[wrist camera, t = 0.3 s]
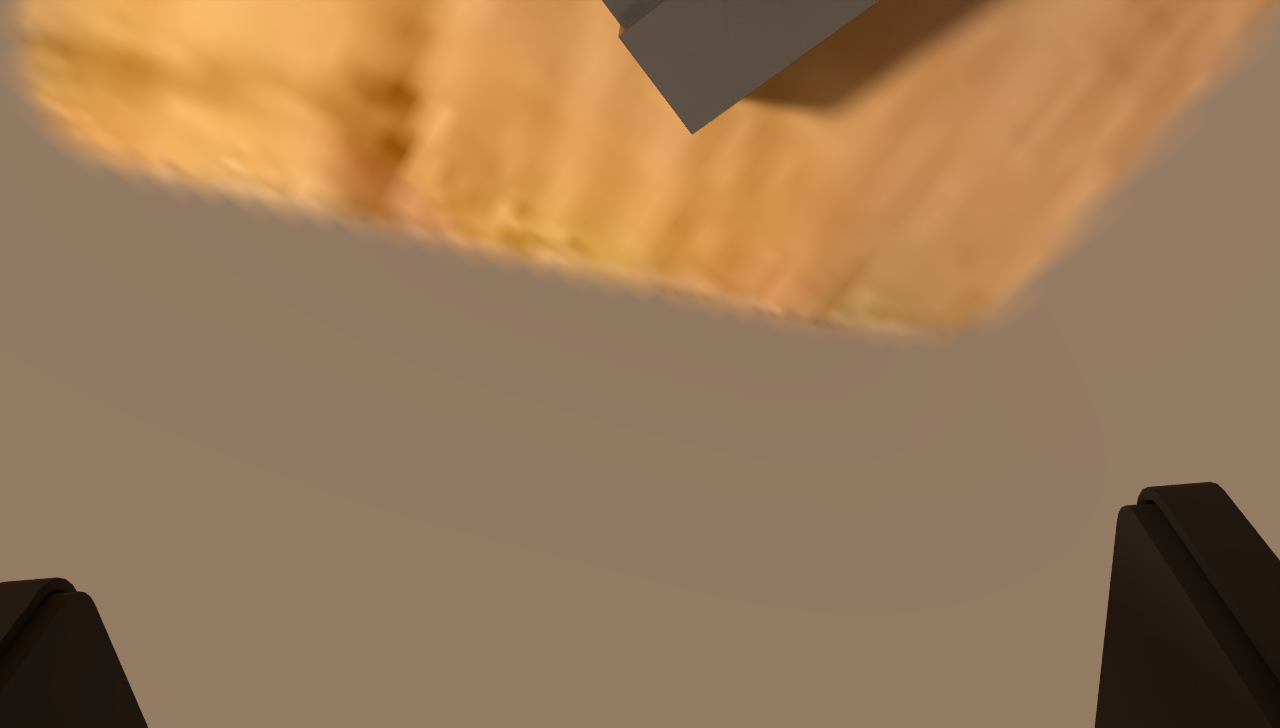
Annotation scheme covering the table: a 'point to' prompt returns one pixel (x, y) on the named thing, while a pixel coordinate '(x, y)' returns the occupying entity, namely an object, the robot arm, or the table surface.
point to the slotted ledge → (722, 45)
